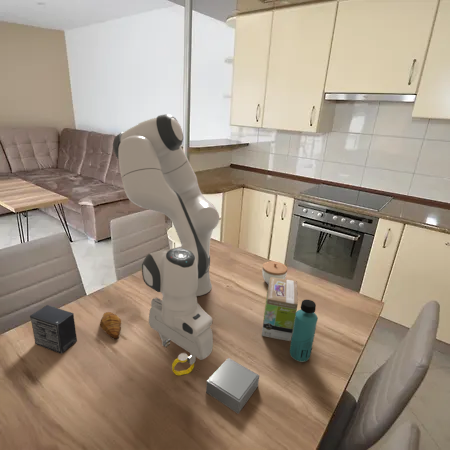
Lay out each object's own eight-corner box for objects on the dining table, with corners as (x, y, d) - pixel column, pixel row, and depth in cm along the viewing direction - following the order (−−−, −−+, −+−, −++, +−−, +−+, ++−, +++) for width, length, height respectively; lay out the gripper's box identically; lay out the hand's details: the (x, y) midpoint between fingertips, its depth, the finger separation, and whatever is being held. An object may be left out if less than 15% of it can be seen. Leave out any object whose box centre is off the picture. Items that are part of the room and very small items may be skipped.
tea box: (291, 342, 100) (298, 304, 94) (261, 336, 101) (266, 298, 96) (291, 314, 113) (297, 280, 108) (264, 309, 115) (269, 275, 110)
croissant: (95, 319, 104) (94, 307, 102) (116, 313, 108) (115, 302, 106) (105, 344, 93) (103, 331, 92) (127, 337, 97) (126, 324, 95)
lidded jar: (256, 283, 132) (258, 264, 129) (266, 273, 141) (269, 255, 138) (279, 292, 127) (282, 272, 124) (288, 281, 136) (291, 262, 132)
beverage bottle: (297, 369, 89) (308, 312, 82) (283, 353, 95) (292, 299, 87) (314, 362, 92) (326, 306, 85) (299, 347, 97) (309, 294, 90)
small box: (78, 340, 94) (75, 312, 91) (61, 354, 89) (57, 325, 85) (52, 331, 97) (47, 303, 94) (34, 344, 92) (28, 315, 88)
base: (206, 392, 80) (206, 380, 78) (227, 368, 88) (228, 357, 86) (238, 413, 75) (239, 401, 73) (257, 386, 83) (259, 374, 81)
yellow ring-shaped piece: (173, 380, 83) (172, 363, 81) (172, 372, 86) (170, 356, 83) (195, 374, 85) (194, 357, 83) (192, 366, 87) (191, 350, 85)
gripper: (142, 300, 81) (143, 341, 86) (201, 334, 70) (198, 380, 75) (160, 290, 86) (160, 330, 90) (217, 321, 75) (214, 365, 80)
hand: (178, 353), depth 82 cm, fingers open, 8 cm apart
